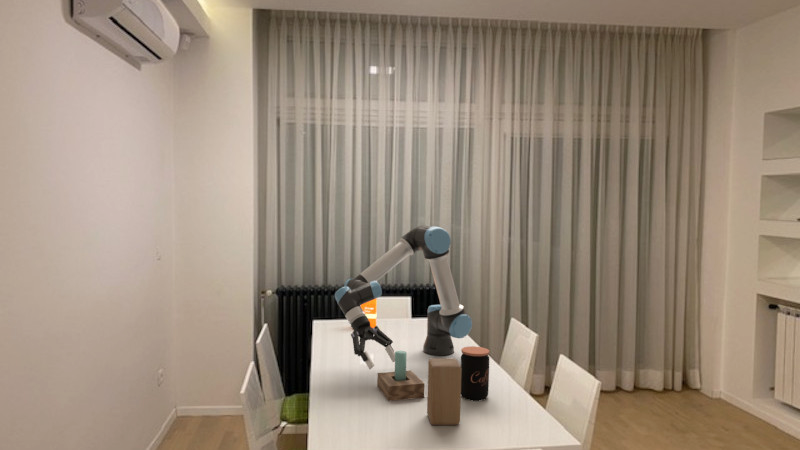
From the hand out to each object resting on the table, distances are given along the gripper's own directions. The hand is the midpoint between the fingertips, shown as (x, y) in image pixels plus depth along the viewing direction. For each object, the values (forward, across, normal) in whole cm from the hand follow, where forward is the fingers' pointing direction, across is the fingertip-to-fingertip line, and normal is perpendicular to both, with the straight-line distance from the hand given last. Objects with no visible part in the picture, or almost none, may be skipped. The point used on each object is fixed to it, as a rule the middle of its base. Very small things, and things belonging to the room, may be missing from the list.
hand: (383, 363), depth 222 cm
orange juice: (-47, -68, -60) cm, 102 cm away
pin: (+12, 0, +1) cm, 12 cm away
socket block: (+13, 0, 0) cm, 13 cm away
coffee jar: (+29, -16, +16) cm, 37 cm away
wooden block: (+33, +10, +20) cm, 40 cm away
